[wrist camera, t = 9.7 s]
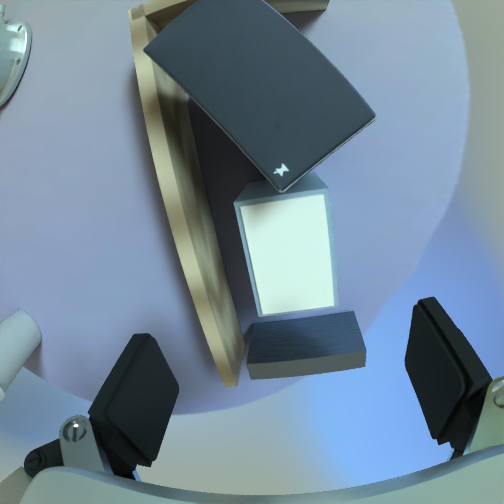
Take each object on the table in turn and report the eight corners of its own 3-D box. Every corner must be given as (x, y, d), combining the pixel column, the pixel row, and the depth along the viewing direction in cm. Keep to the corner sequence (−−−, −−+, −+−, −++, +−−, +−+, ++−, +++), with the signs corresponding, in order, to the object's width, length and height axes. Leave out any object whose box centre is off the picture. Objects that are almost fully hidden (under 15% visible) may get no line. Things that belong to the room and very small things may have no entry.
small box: (342, 125, 20) (387, 117, 11) (281, 173, 23) (279, 202, 13) (254, 33, 18) (233, -30, 8) (194, 83, 20) (135, 52, 11)
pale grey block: (248, 182, 23) (233, 203, 16) (314, 172, 22) (329, 188, 15) (265, 269, 26) (258, 318, 19) (325, 261, 25) (339, 308, 18)
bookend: (253, 323, 28) (246, 364, 23) (353, 311, 26) (366, 350, 21) (256, 338, 29) (250, 379, 24) (353, 326, 27) (365, 366, 22)
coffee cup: (18, 292, 32) (-44, 347, 18) (56, 340, 35) (2, 405, 21) (5, 313, 35) (-45, 361, 21) (38, 355, 37) (-7, 409, 24)
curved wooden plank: (160, 32, 18) (128, 10, 13) (322, -2, 16) (332, -35, 10) (234, 345, 30) (224, 386, 24) (366, 330, 28) (380, 370, 22)
